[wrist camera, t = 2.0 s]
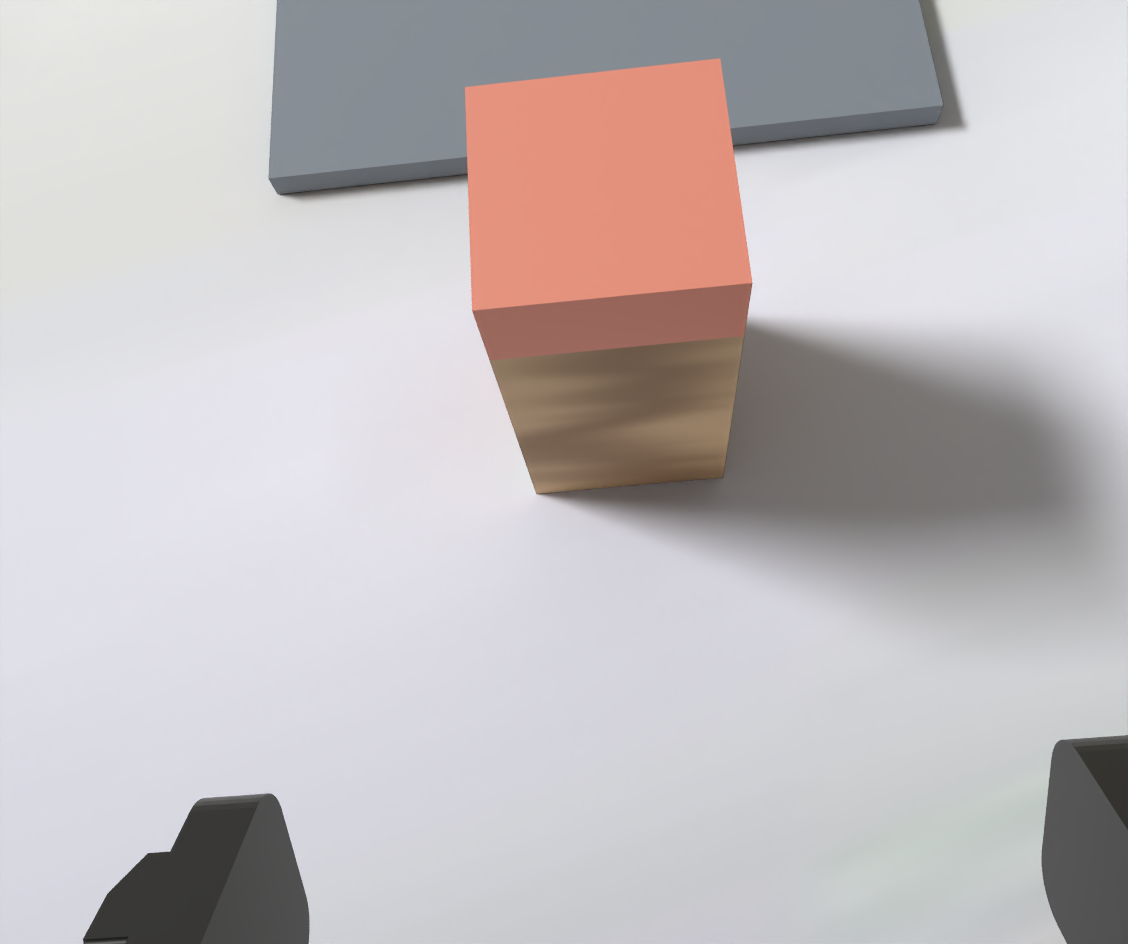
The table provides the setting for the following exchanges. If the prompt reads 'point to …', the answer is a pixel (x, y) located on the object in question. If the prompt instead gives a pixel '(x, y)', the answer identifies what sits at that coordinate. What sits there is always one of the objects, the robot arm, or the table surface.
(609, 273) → the block
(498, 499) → the table surface
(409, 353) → the table surface
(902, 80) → the mat
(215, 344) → the table surface
